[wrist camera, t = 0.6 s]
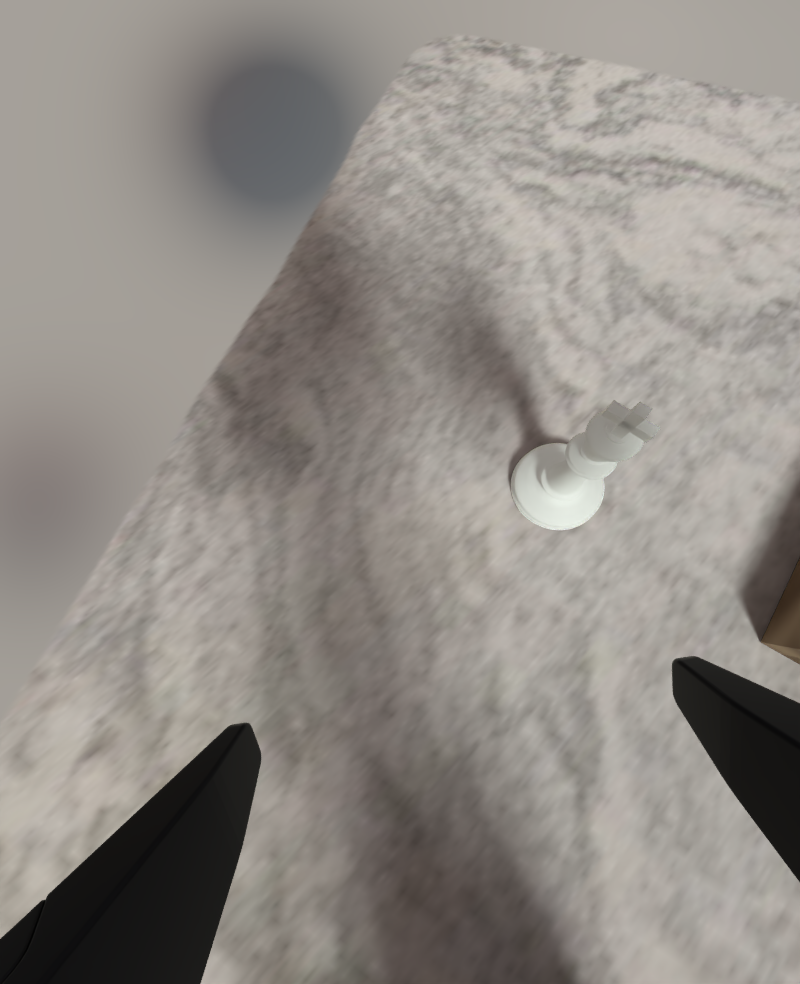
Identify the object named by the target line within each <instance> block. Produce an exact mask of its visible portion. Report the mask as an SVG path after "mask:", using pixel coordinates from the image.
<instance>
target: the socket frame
mask: <svg viewBox="0 0 800 984" xmlns="http://www.w3.org/2000/svg"><path fill="white" fill-rule="evenodd" d="M761 643H763V644H765V645H767V646H768V647H770V648H772V649H774V650H775V651H777V652H779V653H781V654H782V655H784V656H786V657H788V658H790V659H791V660H793V661H795V662H797V663H798V664H800V559H799V561H798V563H797V565H796V567H795V570H794V572H793V574H792V576H791V578H790V580H789V582H788V585H787V587H786V589H785V591H784V593H783V595H782V597H781V600H780V602H779V604H778V606H777V608H776V610H775V612H774V615H773V617H772V619H771V621H770V623H769V625H768V627H767V630H766V632H765V634H764V636H763V638H762V640H761Z"/></svg>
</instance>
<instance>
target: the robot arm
mask: <svg viewBox="0 0 800 984" xmlns="http://www.w3.org/2000/svg"><path fill="white" fill-rule="evenodd" d="M672 686H673V695H674V699H675V701H676V703H677V705H678V707H679V708H680V710H681V712H682V713H683V715H684V716H685V718H686V720H687V721H688V723H689V724H690V726H691V728H692V729H693V731H694V732H695V734H696V736H697V737H698V739H699V740H700V742H701V744H702V745H703V747H704V748H705V750H706V752H707V753H708V755H709V756H710V758H711V760H712V761H713V763H714V764H715V766H716V768H717V769H718V771H719V772H720V774H721V775H722V777H723V778H724V780H725V782H726V783H727V785H728V786H729V788H730V789H731V790H732V792H733V793H734V795H735V796H736V797H737V799H738V800H739V801H740V803H741V804H742V806H743V807H744V808H745V810H746V811H747V812H748V814H749V815H750V816H751V818H752V819H753V820H754V822H755V823H756V824H757V826H758V827H759V828H760V830H761V831H762V832H763V834H764V835H765V836H766V838H767V839H768V840H769V842H770V843H771V844H772V846H773V847H774V848H775V850H776V851H777V852H778V854H779V855H780V856H781V858H782V859H783V860H784V862H785V863H786V864H787V866H788V867H789V868H790V870H791V871H792V872H793V874H794V875H795V876H796V878H797V879H798V880H799V882H800V703H798V702H796V701H793V700H791V699H789V698H787V697H785V696H782V695H780V694H778V693H776V692H774V691H772V690H769V689H767V688H765V687H763V686H761V685H758V684H756V683H754V682H752V681H750V680H747V679H745V678H743V677H741V676H739V675H736V674H734V673H732V672H730V671H728V670H725V669H723V668H721V667H719V666H717V665H714V664H712V663H710V662H708V661H706V660H703V659H701V658H699V657H696V656H689V657H683V658H677V659H675V660H673V662H672ZM260 765H261V751H260V748H259V745H258V742H257V740H256V737H255V734H254V732H253V729H252V727H251V725H250V724H249V723H240V724H233V725H230V726H229V727H227V728H226V729H225V730H224V731H223V732H222V733H221V734H220V735H219V736H218V737H217V738H215V739H214V740H213V741H212V742H211V743H210V744H209V745H208V746H207V747H206V748H205V749H204V750H203V751H202V752H200V753H199V754H198V755H197V756H196V757H195V758H194V759H193V760H192V761H191V762H190V763H189V764H188V765H187V766H185V767H184V768H183V769H182V770H181V771H180V772H179V773H178V774H177V775H176V776H175V777H174V778H173V779H172V780H170V781H169V782H168V783H167V784H166V785H165V786H164V787H163V788H162V789H161V790H160V791H159V792H158V793H157V794H155V795H154V796H153V797H152V798H151V799H150V800H149V801H148V802H147V803H146V804H145V805H144V806H143V807H142V808H140V809H139V810H138V811H137V812H136V813H135V814H134V815H133V816H132V817H131V818H130V819H129V820H128V821H127V822H125V823H124V824H123V825H122V826H121V827H120V828H119V829H118V830H117V831H116V832H115V833H114V834H113V835H112V836H110V837H109V838H108V839H107V840H106V841H105V842H104V843H103V844H102V845H101V846H100V847H99V848H98V849H97V850H95V851H94V852H93V853H92V854H91V855H90V856H89V857H88V858H87V859H86V860H85V861H84V862H83V863H82V864H80V865H79V866H78V867H77V868H76V869H75V870H74V871H73V872H72V873H71V874H70V875H69V876H68V877H67V878H65V879H64V880H63V881H62V882H61V883H60V884H59V885H58V886H57V887H56V888H55V889H54V890H53V891H52V892H50V893H49V894H48V896H47V898H46V900H42V901H41V902H40V903H39V904H37V905H36V906H35V907H34V908H33V909H32V910H31V911H30V912H29V913H28V914H27V915H26V916H25V917H24V918H23V919H21V920H20V921H19V922H18V923H17V924H16V925H15V926H14V927H13V928H12V929H11V930H10V931H8V932H7V933H6V934H5V935H4V936H3V937H2V938H1V939H0V984H200V983H201V980H202V977H203V973H204V970H205V967H206V964H207V960H208V957H209V954H210V951H211V947H212V944H213V941H214V938H215V935H216V931H217V928H218V925H219V922H220V918H221V915H222V912H223V909H224V905H225V902H226V899H227V896H228V892H229V889H230V886H231V883H232V879H233V876H234V873H235V870H236V866H237V863H238V860H239V856H240V853H241V849H242V845H243V841H244V837H245V833H246V829H247V824H248V819H249V815H250V810H251V806H252V801H253V797H254V792H255V788H256V783H257V778H258V774H259V769H260Z"/></svg>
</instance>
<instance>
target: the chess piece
mask: <svg viewBox="0 0 800 984" xmlns="http://www.w3.org/2000/svg"><path fill="white" fill-rule="evenodd" d="M651 411H652V408H650V407H648V406H647V405H645V404H643V403H641V402H639V403H638V404H637V405H636V406H635V407H634V408H633V409H632V410H630V409H628V408H626V407H625V406H623V405H621V404H620V403H618V402H616V401H613V402H612V403H611V404H610V405H609V406H608V407H607V409H606V410H604V411H602V412H599V413H598V414H596V415H595V416H594V417H593V418H592V419H591V420H590V421H589V423H588V425H587V427H586V431H585V432H584V433H580V434H578V435H576V436H575V437H573V438H572V439H571V440H570V441H569V443H568V444H563V443H550V444H545V445H542V446H539V447H537V448H535V449H533V450H531V451H530V452H529V453H527V454H526V455H525V456H523V457H522V458H521V460H520V461H519V462H518V463H517V465H516V467H515V469H514V471H513V474H512V478H511V493H512V497H513V500H514V502H515V504H516V506H517V508H518V509H519V511H520V512H521V513H522V514H523V515H524V516H525V517H526V518H527V519H528V520H530V521H531V522H533V523H534V524H536V525H538V526H540V527H543V528H547V529H551V530H567V529H572V528H575V527H577V526H579V525H581V524H583V523H585V522H586V521H587V520H589V519H590V518H591V517H592V516H593V515H594V513H595V512H596V511H597V510H598V508H599V507H600V505H601V503H602V500H603V496H604V488H605V487H604V479H603V478H604V477H606V476H608V475H609V474H611V473H612V472H613V470H614V469H615V467H616V465H617V462H619V461H624V460H627V459H630V458H632V457H633V456H635V455H636V454H637V453H638V452H639V451H640V450H641V448H642V446H643V443H644V441H645V442H646V443H647V442H648V441H649V440H651V439H652V438H653V437H654V436H655V435H656V433H657V432H658V430H659V429H660V427H658V426H657V425H655V424H653V423H652V422H650V421H648V420H647V419H646V418H647V416H648V415H649V413H650V412H651Z"/></svg>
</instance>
